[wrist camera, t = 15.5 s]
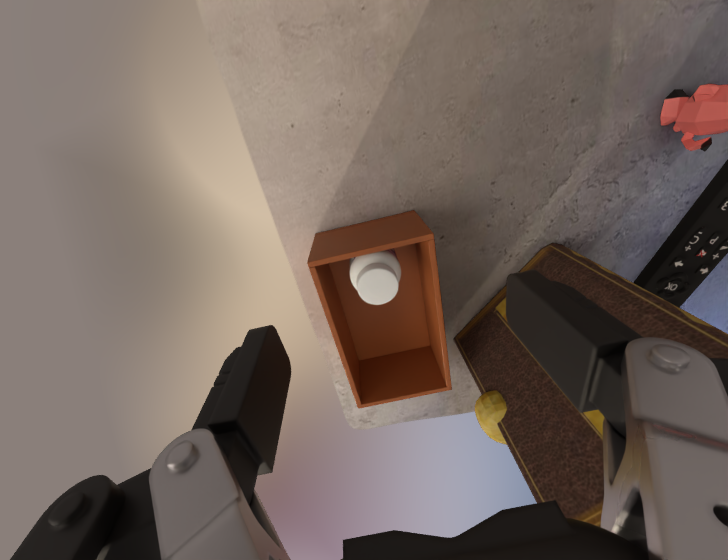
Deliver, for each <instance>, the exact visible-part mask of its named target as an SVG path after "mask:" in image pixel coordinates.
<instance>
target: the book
mask: <svg viewBox="0 0 728 560" xmlns="http://www.w3.org/2000/svg"><path fill="white" fill-rule="evenodd" d="M532 269H534V270H537V271H538V272H539V273H541V274H542V275H543V276H545V277H546V278H547V279H549V280H550V281H554V280H555V281H558V282H560V283H563V284H566V285H568V286H571V287H573V288H575V289H576V290H577V291H579V292H580V293H582V294H583V295H584V296H586V299H590V300H591V301H593V302H594V303H596V304H597V306H598V307H601V308H603V309H604V310H606V311H607V312H608V313H610V314H611V315H613V316H614V317H615V318H617V319H618V320H620V321H621V322H623V323H624V324H625V325H627V326H628V327H630V328H631V329H632V330H634V331H635V332H637V333H638V334H639V335H641V336H642V337H644V338H647V337H652V338H663V339H668V340H672V341H676V342H679V343H682V344H685V345H687V346H689V347H691V348H694V349H695V350H697V351H699V352H701V353H702V354H704V355H705V356H706V357H707V358H727V359H728V334H727V333H725V332H723V331H721V330H719V329H717V328H716V327H714V326H712V325H710V324H708V323H706V322H704V321H703V320H701V319H699V318H697V317H695V316H693V315H691V314H690V313H688V312H686V311H684V310H682V309H680V308H678V307H677V306H675V305H673V304H671V303H669V302H667V301H665V300H664V299H662V298H660V297H658V296H656V295H654V294H652V293H651V292H649V291H647V290H645V289H643V288H641V287H639V286H638V285H636V284H634V283H632V282H630V281H628V280H626V279H625V278H623V277H621V276H619V275H617V274H615V273H613V272H612V271H610V270H608V269H606V268H604V267H602V266H601V265H599V264H597V263H595V262H593V261H591V260H589V259H588V258H586V257H584V256H582V255H580V254H578V253H576V252H575V251H573V250H571V249H569V248H567V247H565V246H563V245H561V244H556V243H551V244H549V245H547V246H546V247H544V248H542V249H541V250H540V251H539V252H538V253H537V254H536V255H535V256H534V257H533V258H532V259H531V260H530V261H529V262H528V263H527V264H526V265H525V266H524V267H523V268H522V269H521V270H520V271H519V272H523V271H528V270H532ZM506 288H507V285H506V286H505V287H504V288H503V289H502V290H501V291H500V292H499V293H498V294H497V295H496V296H495V297H494V298H493V299H492V300H491V301H490V302H489V303H488V304H487V305H486V306H485V307H484V308H483V309H482V310H481V311H480V312H479V313H478V314H477V315H476V316H475V317H474V318H473V319H472V320H471V321H470V322H469V323H468V324H467V325H466V326H465V327H464V329H463V330H462V331H461V332H460V333H459V334H458V335H457V336H456V337H455V338H454V341H455V343H456V345H457V347H458V349H459V351H460V353H461V355H462V357H463V359H464V361H465V363H466V365H467V367H468V369H469V371H470V373H471V375H472V377H473V378H474V380H475V382H476V384H477V386H478V388H479V390H480V392H481V394H482V395H481V396H480V397H479V399H478V400H477V401H476V405H475V413H476V416H477V419H478V422H479V424H480V426H481V428H482V429H483V430H484V431H485V433H486V434H487V435H488V436H489V437H490V438H492V439H493V440H495V441H496V442H499V443H503V444H506V445H508V447H509V449H510V451H511V453H512V455H513V457H514V459H515V461H516V463H517V464H518V467H519V469H520V471H521V472H522V474H523V476H524V478H525V480H526V482H527V484H528V486H529V488H530V490H531V492H532V494H533V496H534V498H535V500H536V502H537V503H542V502H548V501H553V500H556V502H557V504H558V505H559V507H560V509H561V511H562V512H563V514H564V516H565V518H572V519H576V520H580V521H584V522H588V523H590V524H593V525H596V526H599V527H601V515H602V509H603V502H604V459H603V421H604V416H603V415H602V413H601V412H600V411H599V410H593V411H588V412H583V413H580V412H579V411H578V410H577V409H576V407H575V406H574V405H573V404H572V403H571V401H570V400H569V399H568V398H567V397H566V395H565V394H564V393H563V392H562V390H561V389H560V388H559V387H558V386H557V384H556V383H555V382H554V381H553V380H552V378H551V377H550V376H549V375H548V374H547V372H546V371H545V370H544V369H543V368H542V366H541V365H540V364H539V363H538V361H537V360H536V359H535V358H534V357H533V355H532V354H531V353H530V352H529V351H528V349H527V348H526V347H525V346H524V345H523V343H522V342H521V341H520V340H519V338H518V337H517V336H516V335H515V334H514V332H513V331H512V330H511V328H510V327H509V324H508V322H507V318H506Z"/></svg>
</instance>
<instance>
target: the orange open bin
mask: <svg viewBox="0 0 728 560" xmlns="http://www.w3.org/2000/svg"><path fill="white" fill-rule="evenodd" d="M393 248H394V251H395V253H396V256H397V259H398V261H399V264H400V267H401V278H400V281H399V283H398V284H399V287H398V291H397V294H396V295H395V297H394V298H393V299H392V300H391V301H389V302H387V303H385V304H381V305H374V304H370V303H367V302H365V301H364V300H363V299H362V298H361V297H360V296H359V294H358V291H357V290H356V289H355V287H354V286H353V284H352V282H351V279H350V272H349V271H350V258H354V257H358V256H362V255H367V254H371V253H375V252H380V251H384V250H388V249H393ZM307 263H308V266H309V269H310V272H311V275H312V278H313V281H314V284H315V286H316V289H317V292H318V295H319V298H320V301H321V304H322V306H323V309H324V312H325V315H326V318H327V321H328V324H329V326H330V329H331V332H332V335H333V338H334V341H335V344H336V347H337V349H338V352H339V355H340V358H341V361H342V364H343V367H344V369H345V372H346V375H347V378H348V381H349V384H350V387H351V389H352V392H353V395H354V398H355V401H356V404H357V407H358V408H363V407H368V406H373V405H378V404H383V403H388V402H393V401H398V400H403V399H408V398H413V397H417V396H422V395H427V394H432V393H437V392H442V391H447V390H452V387H451V378H450V370H449V361H448V353H447V344H446V336H445V327H444V318H443V310H442V301H441V293H440V284H439V276H438V267H437V259H436V250H435V242H434V234H433V232H432V231H431V230H430V229H429V227H428V226H427V225H426V224H425V223H424V222H423V220H422V219H421V218H420V217H419V216H418V214H417V213H416V212H415V211H414V210H413V211H409V212H405V213H401V214H396V215H392V216H388V217H384V218H380V219H375V220H371V221H367V222H363V223H358V224H354V225H350V226H346V227H342V228H337V229H333V230H329V231H325V232H321V233H316V234H315V237H314V241H313V244H312V248H311V251H310V255H309V258H308V262H307Z"/></svg>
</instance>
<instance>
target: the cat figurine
mask: <svg viewBox="0 0 728 560" xmlns="http://www.w3.org/2000/svg"><path fill="white" fill-rule="evenodd" d="M688 99H689V100H688ZM660 118H661V126H665V125H668V124H670V123H672V122H674V121H676V123H675V125H674V128H673V129H674V131H675V132H678V131H682V133H683V134H684V136H683V138H682V139H681V141H682V143H683V144H684V146H685V148H686V149H688V150H690V151H692V150H696V149H701V150H703V151H706V150H707V149H708V148H709V146H710V145H711V144H712V139H711V137H709V138H705V139H702V140H698V141H694V140H693V139H692V138H693V136H694V135H710V134H719V133H723V132H727V131H728V84H727V85H716V84H706V85H701V86H699V88H698V89H697V91H696V92H695V93H694V94H693V95H692V96H691V97H690V98H689V96H688V95H687V94H686V93H685V92H684V91H683V90H682V89H678V90H674V91H673V92H672V93H671V94H670V95H669V96H668V97H667V98H666V99H665V100H664V104H663V108H662V112H661V116H660Z"/></svg>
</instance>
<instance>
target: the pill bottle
mask: <svg viewBox="0 0 728 560" xmlns="http://www.w3.org/2000/svg"><path fill="white" fill-rule="evenodd" d="M349 272H350V279H351V282H352V284H353V286H354V287H355V289H356V290H357V291H358V294H359V296H360V297H361V298H362V299H363V300H364V301H365V302H367V303H370V304H374V305H381V304H385V303H387V302H389V301H391V300H392V299H393V298H394V297H395V295H396V294H397V291H398V287H399V284H398V283H399V281H400V278H401V267H400V264H399V261H398V259H397V256H396V253H395V251H394V248H393V249H388V250H384V251H380V252H375V253H371V254H367V255H362V256H358V257H354V258H350V271H349Z"/></svg>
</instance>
